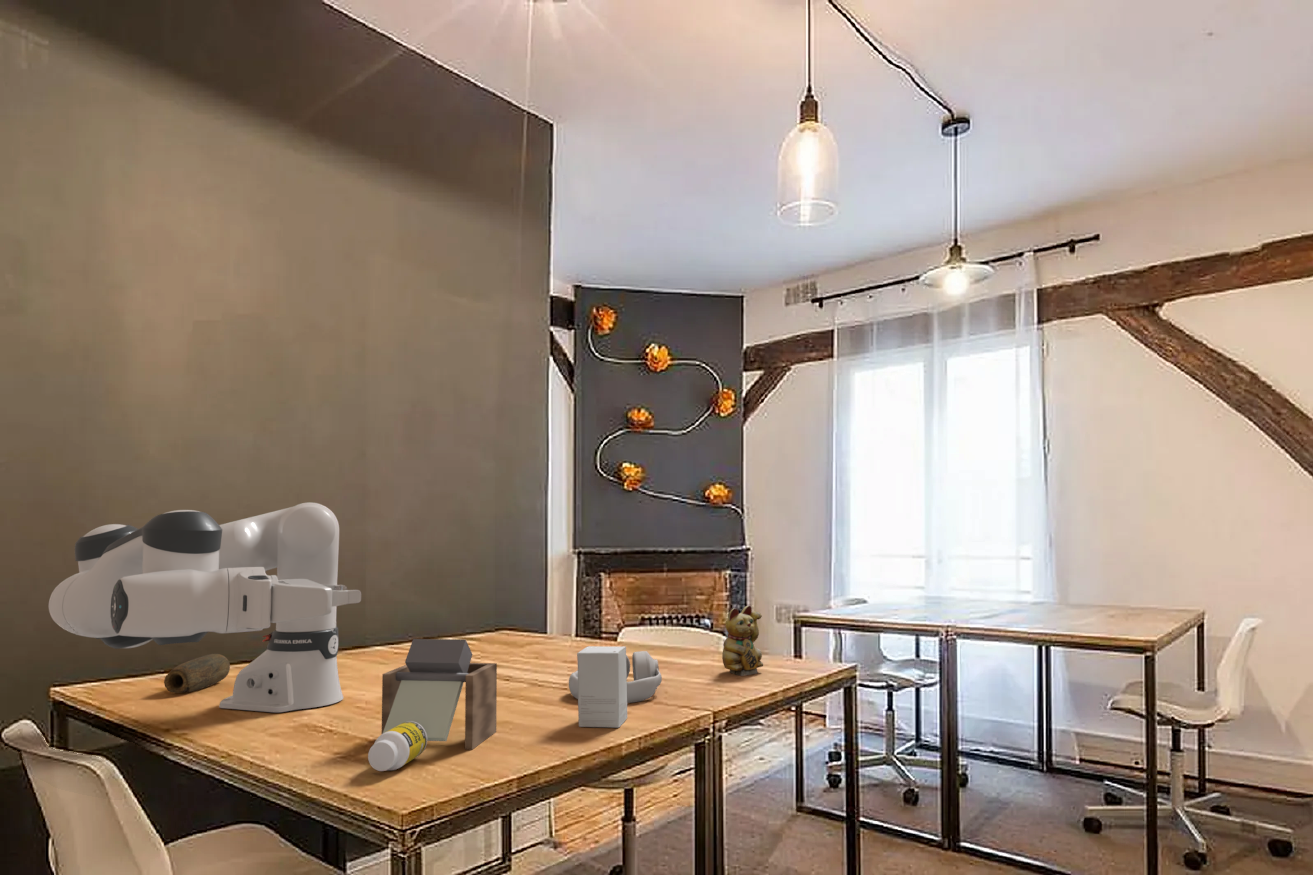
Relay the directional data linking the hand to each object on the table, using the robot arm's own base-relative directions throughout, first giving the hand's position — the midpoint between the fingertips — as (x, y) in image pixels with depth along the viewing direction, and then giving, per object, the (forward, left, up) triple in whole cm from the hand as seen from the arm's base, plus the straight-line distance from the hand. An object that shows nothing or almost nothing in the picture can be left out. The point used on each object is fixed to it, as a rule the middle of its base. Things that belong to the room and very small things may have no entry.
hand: (353, 593), depth 126 cm
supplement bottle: (+7, +6, -22) cm, 24 cm away
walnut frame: (+7, +17, -25) cm, 31 cm away
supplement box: (+31, +30, -25) cm, 50 cm away
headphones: (+29, +54, -25) cm, 66 cm away
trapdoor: (+7, +13, -18) cm, 23 cm away
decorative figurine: (+52, +79, -25) cm, 98 cm away
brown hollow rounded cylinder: (-62, +51, -25) cm, 84 cm away
